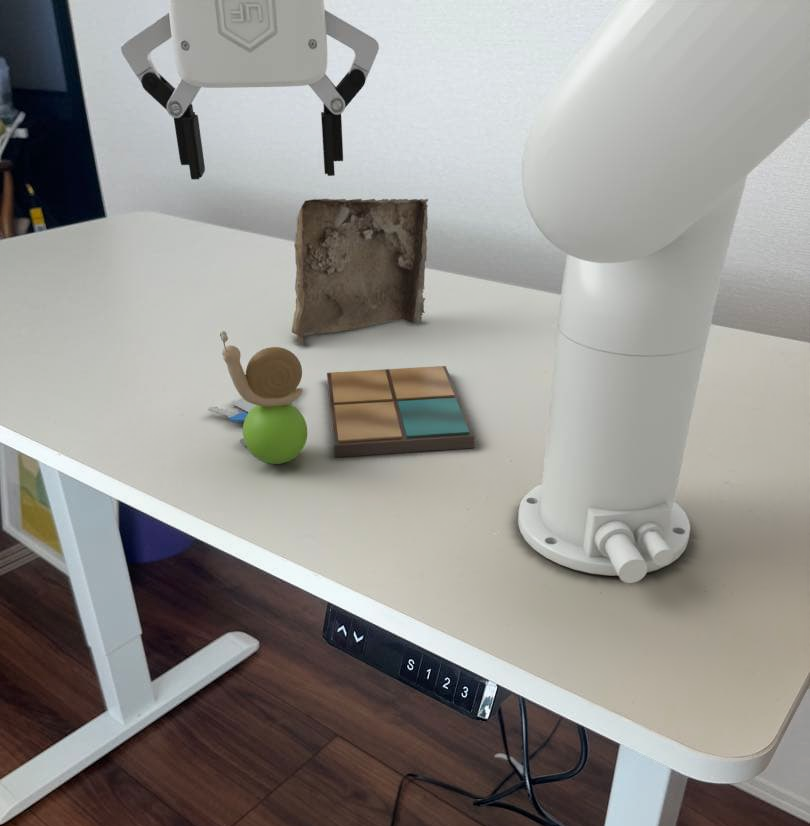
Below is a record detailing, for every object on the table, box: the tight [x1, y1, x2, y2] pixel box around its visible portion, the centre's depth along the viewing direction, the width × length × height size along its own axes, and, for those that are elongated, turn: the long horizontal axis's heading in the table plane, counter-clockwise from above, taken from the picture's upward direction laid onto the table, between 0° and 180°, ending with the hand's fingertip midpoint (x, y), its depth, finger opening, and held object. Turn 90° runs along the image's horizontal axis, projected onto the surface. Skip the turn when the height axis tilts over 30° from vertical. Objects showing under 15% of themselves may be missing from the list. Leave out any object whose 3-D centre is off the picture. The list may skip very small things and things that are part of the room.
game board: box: [326, 365, 476, 458], centre depth 78 cm, size 16×12×1 cm
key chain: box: [207, 386, 298, 445], centre depth 77 cm, size 14×8×1 cm, turn 1°
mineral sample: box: [291, 198, 429, 346], centre depth 93 cm, size 17×4×15 cm, turn 115°
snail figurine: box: [219, 330, 308, 465], centre depth 67 cm, size 5×6×12 cm
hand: (264, 174), depth 60 cm, fingers open, 9 cm apart
